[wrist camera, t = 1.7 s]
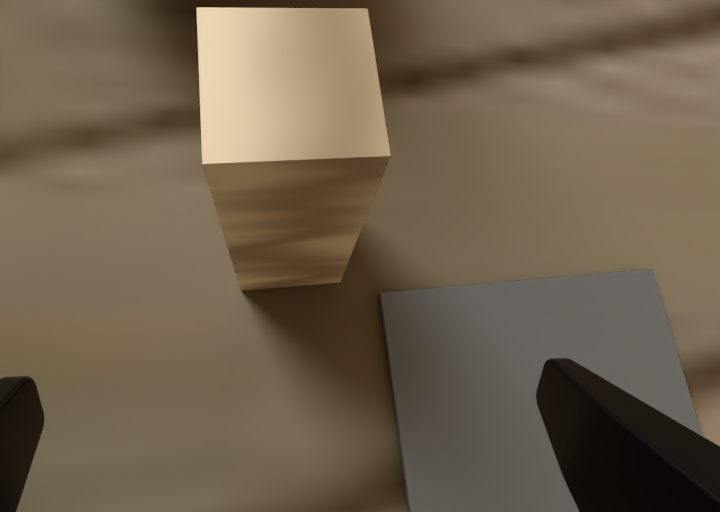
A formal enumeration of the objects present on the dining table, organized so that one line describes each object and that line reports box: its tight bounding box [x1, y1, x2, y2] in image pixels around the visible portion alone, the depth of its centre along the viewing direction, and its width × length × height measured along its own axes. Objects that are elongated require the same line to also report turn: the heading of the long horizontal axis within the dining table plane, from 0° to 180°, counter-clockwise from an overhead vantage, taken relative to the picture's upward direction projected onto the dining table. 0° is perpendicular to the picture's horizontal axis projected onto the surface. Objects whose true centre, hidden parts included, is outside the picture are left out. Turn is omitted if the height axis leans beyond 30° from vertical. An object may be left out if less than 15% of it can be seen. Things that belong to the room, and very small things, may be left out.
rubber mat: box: [379, 269, 702, 512], centre depth 23 cm, size 14×18×1 cm
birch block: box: [196, 7, 391, 291], centre depth 19 cm, size 4×4×12 cm
